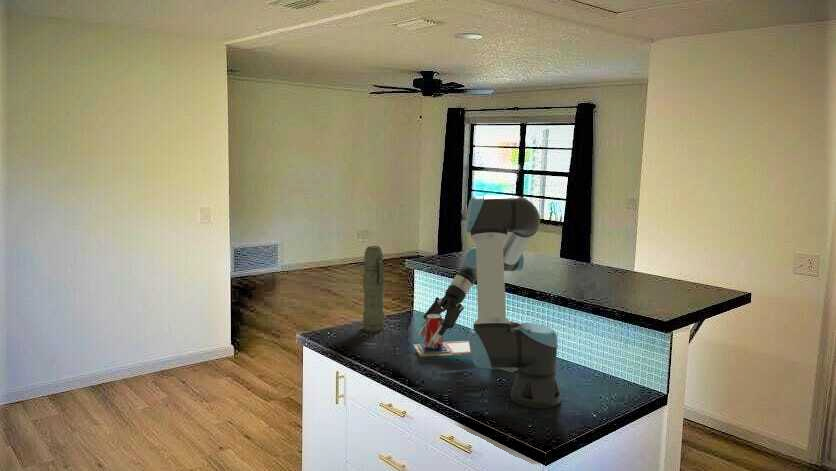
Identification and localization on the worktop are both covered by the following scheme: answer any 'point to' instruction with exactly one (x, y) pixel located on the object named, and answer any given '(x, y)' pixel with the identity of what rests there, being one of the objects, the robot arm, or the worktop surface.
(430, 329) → the soda can
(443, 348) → the ink pad
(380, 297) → the thermos
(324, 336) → the worktop surface
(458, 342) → the orange bordered square plate
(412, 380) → the worktop surface
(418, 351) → the blotter board
